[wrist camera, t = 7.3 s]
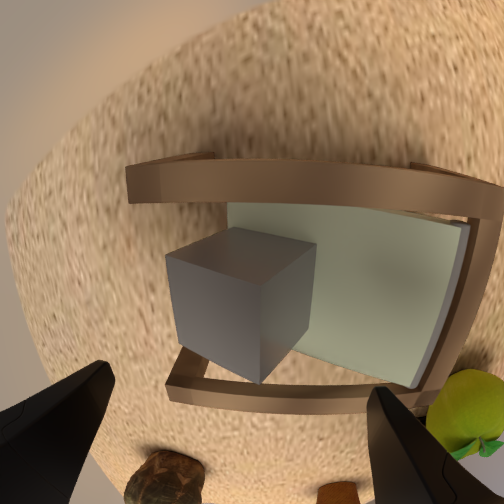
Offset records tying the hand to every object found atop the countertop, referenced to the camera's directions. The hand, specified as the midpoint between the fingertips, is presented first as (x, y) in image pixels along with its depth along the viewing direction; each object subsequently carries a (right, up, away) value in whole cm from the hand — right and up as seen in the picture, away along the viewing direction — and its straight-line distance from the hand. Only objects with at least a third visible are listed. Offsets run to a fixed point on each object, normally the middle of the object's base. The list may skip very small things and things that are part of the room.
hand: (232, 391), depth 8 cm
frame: (+4, +5, +11) cm, 13 cm away
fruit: (+22, -10, +15) cm, 29 cm away
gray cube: (+2, +3, +8) cm, 8 cm away
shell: (-11, -28, +26) cm, 40 cm away
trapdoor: (+5, +3, +7) cm, 9 cm away
